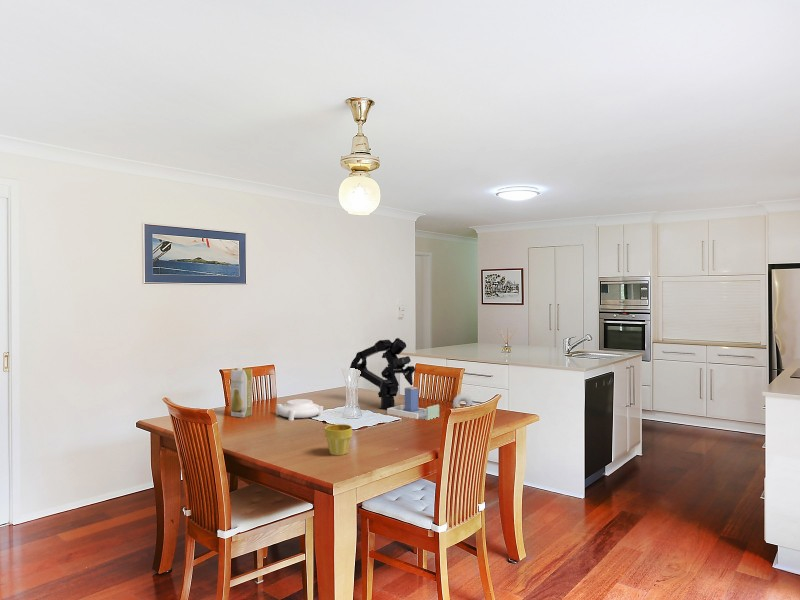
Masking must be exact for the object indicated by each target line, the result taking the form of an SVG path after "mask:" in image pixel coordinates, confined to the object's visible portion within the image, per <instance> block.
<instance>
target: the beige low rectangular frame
mask: <svg viewBox="0 0 800 600" xmlns="http://www.w3.org/2000/svg"><path fill="white" fill-rule="evenodd" d="M402 409H405V404H400V405H397V406H396V405H395V406H394V407H391V408H387V410H386V414H388V415H394V416H399V417H404V418H408V417H409V419H414V418H415V419H414V420H418V419H419V414H418V413H412V412H407V411H401V410H402ZM418 409H422V410H424V412H425V413H426V408H423V407H418Z"/></svg>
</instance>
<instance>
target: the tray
mask: <svg viewBox="0 0 800 600" xmlns="http://www.w3.org/2000/svg"><path fill="white" fill-rule="evenodd" d="M425 409H426V413H425V412H424V410H422V409H418V411H415V412H412V413H418V414H419V418H418V419H419V420H424V419H425V420H426V421H430V419H431V420H433V418H434V419H437V418H436V417H438V418H440V404H434V405H431V406H430V405H429V406H427V407H426V408H425ZM401 411H405V409H402V410H401ZM407 412H408V411H407Z"/></svg>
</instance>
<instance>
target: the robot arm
mask: <svg viewBox="0 0 800 600" xmlns="http://www.w3.org/2000/svg"><path fill="white" fill-rule="evenodd" d="M406 348H407V344H406V342H405V341H403V340H402V339H400V337H396V338H395V339H394V340H393V341H392V340H390V339H379V340H378V341H376V342H375V343H374V345H372V346H370V347H367V348H366V349H363V350H361V351H358V352H356V355H355V357H354V358H353V360H352V361H351V363H350V366H349V369H350V368H355V369H358V370H360V371H361V374H360V376H359V377H362V378H363V379H365V380H366V381H368V382H370V383H371V384H373V385H375V386H376V387H378V389H379V392H378V393H377V394H378V398H380V406H379V408H378V409H381V410H386V411H387V408H391V407H395V397H397V395H398V393H399V386H400V384H399V381H398V378H397V377H396V374H402V375H403V376H404V379H406V381H407V382H408V384H409V385H410V386H413V384H414V383H413V374H414V373H415V371H416V368H415V366H414V365H409V363H411V362H412V361H411V358H410V356H408V355H407V356H402V357H398V355H400V354H401V353H402V352H403V351H404V350H405V349H406ZM380 352H381V353H382V352H383V353H382V355H381V358H382V359H386V361H387V366H385V367H384V369H383V370H382V371H381V376H382V377H380V376H378V375H377V374H376V373H373V372H372V371H370V370H369V369H368V367H367V363H368V362H367V359H368V357H371V356H373V355H375V354H379V353H380ZM360 361H361V362H360ZM406 365H408V366H406ZM384 378H385V379H384Z"/></svg>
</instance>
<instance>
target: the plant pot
mask: <svg viewBox="0 0 800 600" xmlns="http://www.w3.org/2000/svg"><path fill="white" fill-rule="evenodd" d="M352 436H353V426H352V425H350V424H344V423H340V424H339V423H337V424H336V423H334V424H329V425H327V426H325V427H324V437H325V438H326V441H327V445H328V449H329V450H328V452H329V454H330V455H332V456H343V455H346V454H348V451H349V447H350V441H351V437H352Z"/></svg>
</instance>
